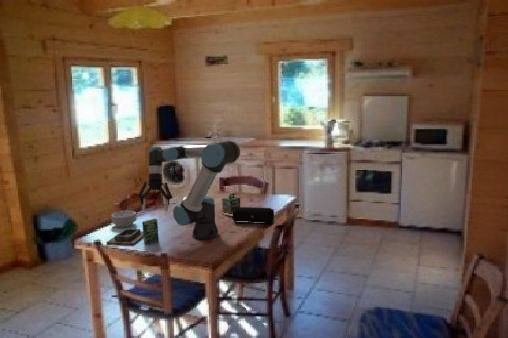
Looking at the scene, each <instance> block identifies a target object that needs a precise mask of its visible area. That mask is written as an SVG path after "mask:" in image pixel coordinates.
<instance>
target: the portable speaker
mask: <svg viewBox="0 0 508 338" xmlns="http://www.w3.org/2000/svg"><path fill="white" fill-rule="evenodd" d="M232 220H233V222H235V221H248V222H249V221H250V222H265V223H267V225H270V224H272V223H273V222H274V221H275V211H274V208H271V207H253V206H250V207H249V206H248V207H247V206H246V207H245V206H244V207H243V206H240V207H237V208H234V209H233V216H232Z"/></svg>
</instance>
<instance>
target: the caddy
mask: <svg viewBox="0 0 508 338" xmlns="http://www.w3.org/2000/svg"><path fill="white" fill-rule="evenodd" d="M143 239H144V236H143V230H141V228H124V229H123V230H122V231H120V232H119V233H118V234H116V235H115V236H113V237H112V238H111V239H109V240H108V241H106V245H110V244H113V245H115V244H116V245H115V246H133V247H134V246H135V245H136V244H137V243H139V242H140V241H141V240H143Z"/></svg>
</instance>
